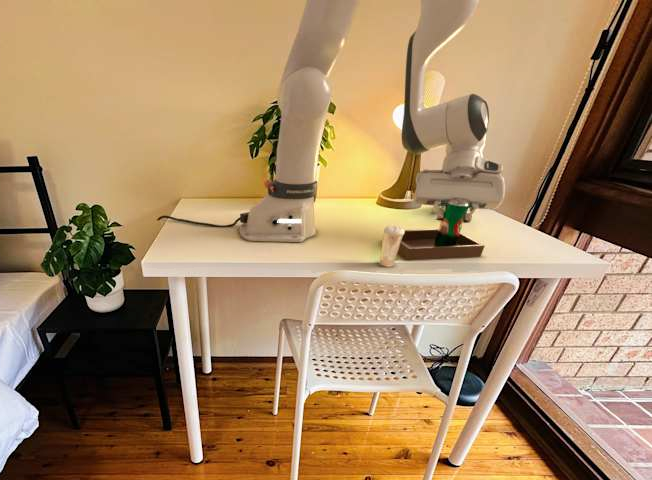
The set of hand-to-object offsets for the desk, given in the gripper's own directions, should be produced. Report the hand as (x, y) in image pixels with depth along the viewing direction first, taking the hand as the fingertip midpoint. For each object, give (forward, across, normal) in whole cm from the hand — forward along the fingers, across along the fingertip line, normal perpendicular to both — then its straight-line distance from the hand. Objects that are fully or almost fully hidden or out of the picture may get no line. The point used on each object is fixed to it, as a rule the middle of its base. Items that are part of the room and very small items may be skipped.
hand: (453, 220), depth 93 cm
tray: (+6, -4, +4) cm, 8 cm away
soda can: (+5, 0, +6) cm, 7 cm away
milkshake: (+17, -14, -6) cm, 23 cm away
